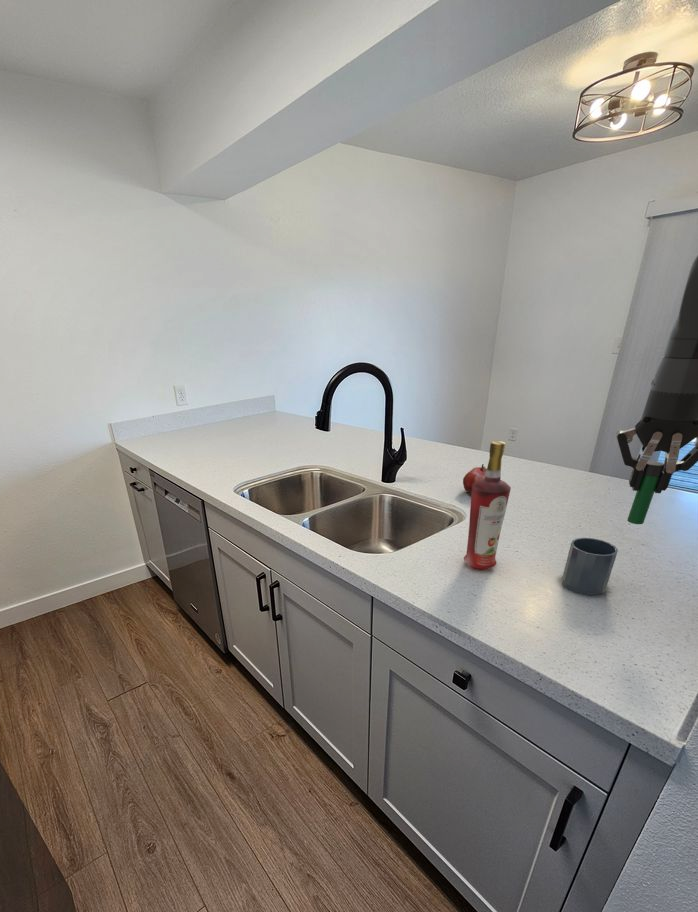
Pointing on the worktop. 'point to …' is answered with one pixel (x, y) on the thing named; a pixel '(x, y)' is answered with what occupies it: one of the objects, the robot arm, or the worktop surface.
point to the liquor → (487, 512)
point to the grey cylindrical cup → (589, 566)
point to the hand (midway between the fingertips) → (646, 490)
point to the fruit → (473, 477)
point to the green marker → (645, 492)
